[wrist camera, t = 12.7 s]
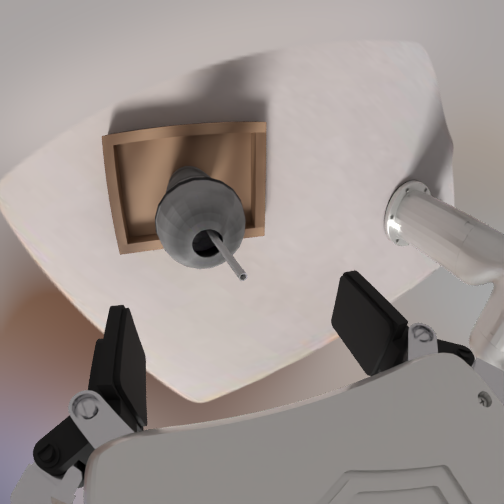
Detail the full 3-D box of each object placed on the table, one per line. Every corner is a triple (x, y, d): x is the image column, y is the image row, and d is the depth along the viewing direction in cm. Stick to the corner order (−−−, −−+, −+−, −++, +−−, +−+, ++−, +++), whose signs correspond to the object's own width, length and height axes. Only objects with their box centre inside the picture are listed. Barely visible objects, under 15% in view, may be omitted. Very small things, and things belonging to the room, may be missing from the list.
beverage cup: (151, 161, 29) (135, 237, 12) (214, 148, 30) (283, 206, 14) (163, 219, 33) (173, 343, 16) (221, 206, 34) (286, 313, 17)
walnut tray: (258, 121, 31) (266, 122, 29) (257, 226, 38) (264, 235, 35) (107, 134, 27) (101, 136, 24) (123, 243, 33) (120, 254, 31)
